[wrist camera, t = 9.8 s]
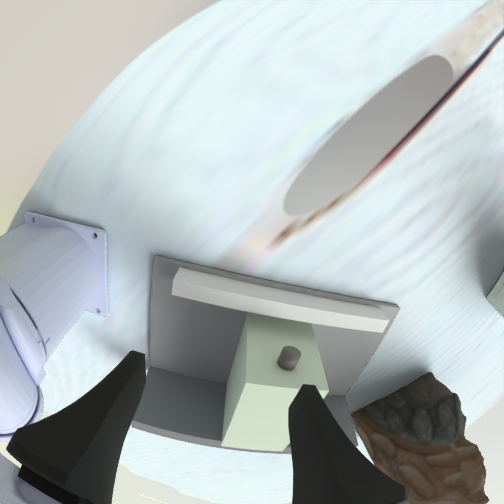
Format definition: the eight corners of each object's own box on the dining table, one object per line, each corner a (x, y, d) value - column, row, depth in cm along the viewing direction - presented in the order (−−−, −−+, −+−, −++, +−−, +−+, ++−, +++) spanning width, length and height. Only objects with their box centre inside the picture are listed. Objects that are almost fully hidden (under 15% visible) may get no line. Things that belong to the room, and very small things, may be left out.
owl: (439, 362, 24) (505, 491, 6) (443, 401, 28) (486, 498, 10) (348, 412, 27) (380, 554, 8) (371, 439, 31) (397, 543, 12)
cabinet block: (226, 383, 23) (221, 445, 17) (251, 299, 20) (249, 371, 13) (277, 390, 24) (282, 451, 17) (315, 311, 20) (336, 380, 14)
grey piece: (151, 371, 24) (132, 427, 17) (155, 254, 19) (115, 309, 12) (337, 399, 25) (350, 451, 19) (397, 305, 20) (435, 359, 14)
